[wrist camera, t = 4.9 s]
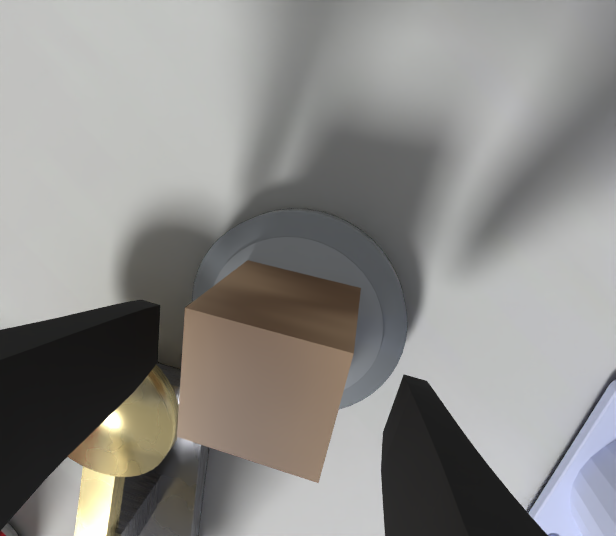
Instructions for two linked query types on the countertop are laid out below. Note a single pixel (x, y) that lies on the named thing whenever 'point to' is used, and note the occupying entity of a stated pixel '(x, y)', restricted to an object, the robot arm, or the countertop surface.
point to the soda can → (8, 531)
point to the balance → (142, 467)
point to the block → (267, 366)
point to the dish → (327, 265)
